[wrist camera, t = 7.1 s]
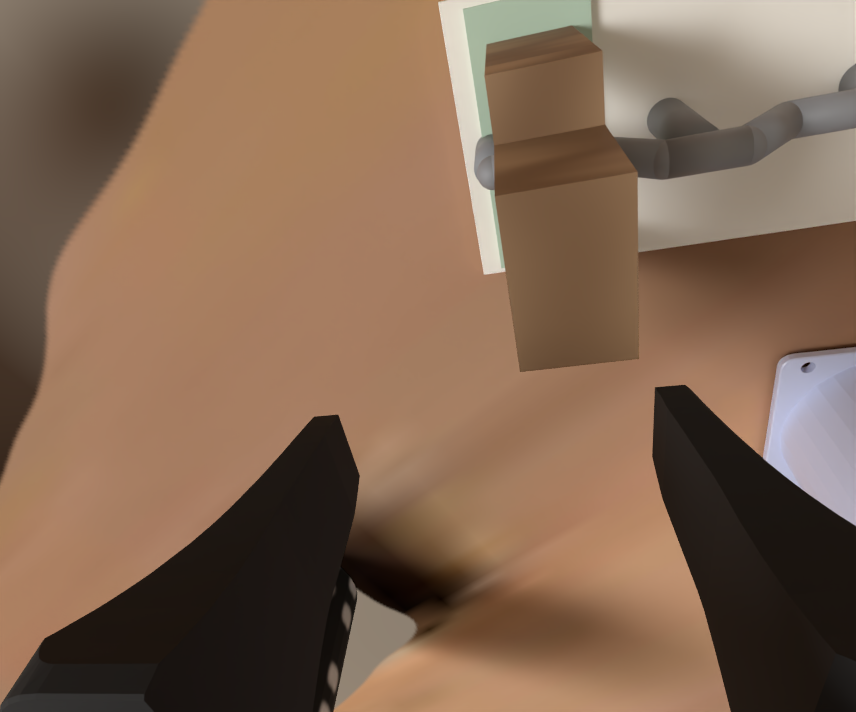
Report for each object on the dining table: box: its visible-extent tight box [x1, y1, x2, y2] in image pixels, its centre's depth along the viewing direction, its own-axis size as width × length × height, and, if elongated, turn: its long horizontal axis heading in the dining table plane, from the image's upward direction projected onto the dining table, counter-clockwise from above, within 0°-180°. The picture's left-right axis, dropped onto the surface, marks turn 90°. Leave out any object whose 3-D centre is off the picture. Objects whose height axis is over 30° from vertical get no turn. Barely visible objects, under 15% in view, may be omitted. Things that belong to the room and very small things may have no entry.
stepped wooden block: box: [484, 25, 639, 372], centre depth 15 cm, size 2×7×9 cm, turn 12°
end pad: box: [463, 0, 592, 268], centre depth 19 cm, size 4×8×1 cm, turn 12°
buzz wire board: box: [438, 0, 856, 275], centre depth 17 cm, size 13×9×5 cm
